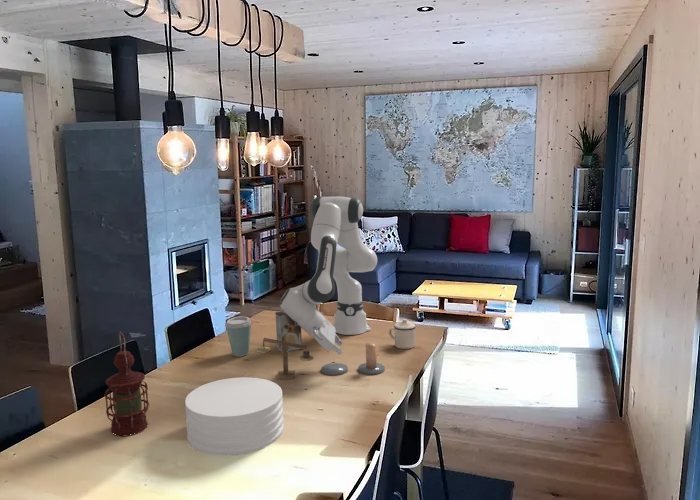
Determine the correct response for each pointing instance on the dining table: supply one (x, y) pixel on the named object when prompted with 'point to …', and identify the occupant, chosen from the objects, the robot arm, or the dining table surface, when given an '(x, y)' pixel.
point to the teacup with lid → (404, 334)
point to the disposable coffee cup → (239, 335)
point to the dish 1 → (334, 369)
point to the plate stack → (234, 416)
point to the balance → (286, 356)
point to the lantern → (126, 396)
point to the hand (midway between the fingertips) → (341, 348)
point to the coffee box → (287, 331)
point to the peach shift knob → (371, 356)
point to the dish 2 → (365, 370)
